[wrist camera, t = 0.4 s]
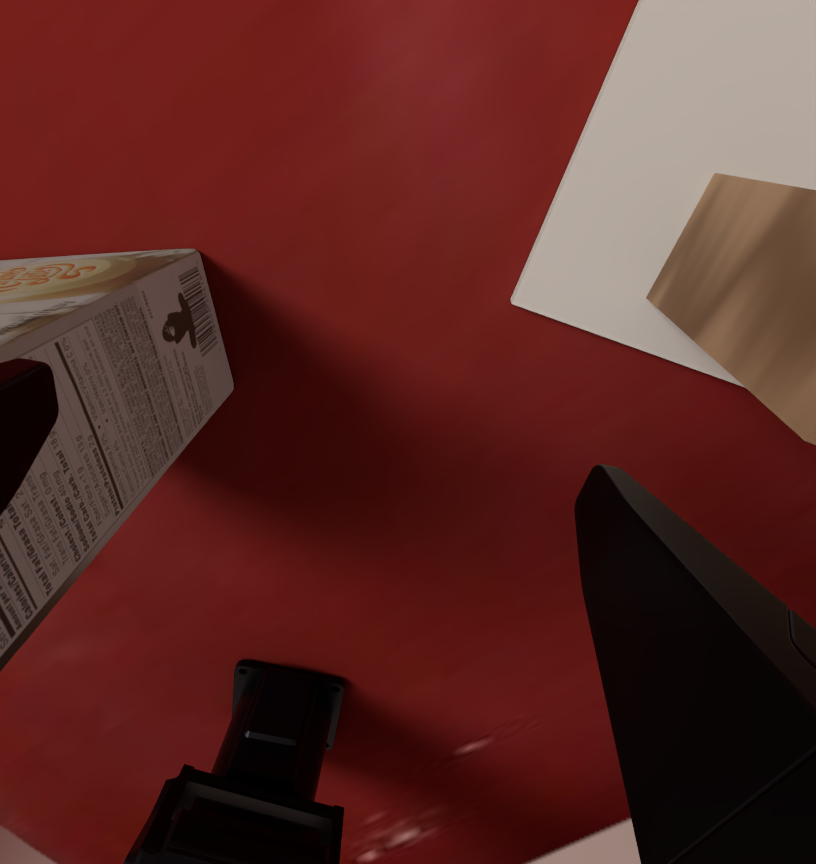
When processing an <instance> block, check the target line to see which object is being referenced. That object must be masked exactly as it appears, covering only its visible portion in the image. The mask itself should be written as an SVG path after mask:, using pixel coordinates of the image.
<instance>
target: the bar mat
mask: <svg viewBox="0 0 816 864" xmlns="http://www.w3.org/2000/svg"><path fill="white" fill-rule="evenodd" d="M714 173H719V174H725V175H731V176H737V177H742V178H748V179H754V180H760V181H766V182H771V183H777V184H783V185H789V186H795V187H800V188H806V189H812V190H816V0H639V1H638V4H637V6H636V8H635V11H634V13H633V15H632V18H631V20H630V22H629V25H628V27H627V29H626V32H625V34H624V36H623V39H622V41H621V43H620V46H619V48H618V50H617V53H616V55H615V57H614V60H613V62H612V64H611V67H610V69H609V71H608V74H607V76H606V78H605V80H604V83H603V85H602V87H601V90H600V92H599V94H598V97H597V99H596V101H595V104H594V106H593V108H592V111H591V113H590V115H589V118H588V120H587V122H586V125H585V127H584V129H583V132H582V134H581V136H580V139H579V141H578V143H577V146H576V148H575V150H574V153H573V155H572V157H571V160H570V162H569V164H568V167H567V169H566V171H565V174H564V176H563V178H562V181H561V183H560V185H559V188H558V190H557V192H556V195H555V197H554V199H553V202H552V204H551V206H550V209H549V211H548V213H547V216H546V218H545V220H544V223H543V225H542V227H541V230H540V232H539V234H538V237H537V239H536V241H535V244H534V246H533V248H532V251H531V253H530V255H529V258H528V260H527V262H526V264H525V267H524V269H523V271H522V274H521V276H520V278H519V281H518V283H517V285H516V288H515V290H514V292H513V295H512V297H511V299H510V300H511V303H512V304H513V305H516V306H519V307H522V308H525V309H527V310H530V311H533V312H536V313H538V314H541V315H544V316H547V317H550V318H552V319H555V320H558V321H561V322H564V323H566V324H569V325H572V326H575V327H578V328H580V329H583V330H586V331H589V332H592V333H594V334H597V335H600V336H603V337H606V338H608V339H611V340H614V341H617V342H619V343H622V344H625V345H628V346H631V347H633V348H636V349H639V350H642V351H645V352H647V353H650V354H653V355H656V356H659V357H661V358H664V359H667V360H670V361H673V362H675V363H678V364H681V365H684V366H687V367H689V368H692V369H695V370H698V371H701V372H703V373H706V374H709V375H712V376H714V377H717V378H720V379H723V380H726V381H728V382H731V383H734V384H737V385H740V386H742V387H744V386H743V385H742V384H741V383H740V382H739V381H738V380H736V379H735V378H734V377H733V376H732V375H731V374H730V373H729V372H728V371H726V370H725V369H724V368H723V367H722V366H721V365H720V364H719V363H718V362H716V361H715V360H714V359H713V358H712V357H711V356H710V355H709V354H708V353H706V352H705V351H704V350H703V349H702V348H701V347H700V346H699V345H698V344H696V343H695V342H694V341H693V340H692V339H691V338H690V337H689V336H688V335H686V334H685V333H684V332H683V331H682V330H681V329H680V328H679V327H678V326H676V325H675V324H674V323H673V322H672V321H671V320H670V319H669V318H668V317H666V316H665V315H664V314H663V313H662V312H661V311H660V310H659V309H658V308H656V307H655V306H654V305H653V304H652V303H651V302H650V301H649V300H648V299H646V297H647V295H648V293H649V291H650V289H651V288H652V286H653V284H654V282H655V280H656V279H657V277H658V275H659V273H660V271H661V269H662V268H663V266H664V264H665V262H666V260H667V259H668V257H669V255H670V253H671V251H672V249H673V248H674V246H675V244H676V242H677V240H678V238H679V237H680V235H681V233H682V231H683V229H684V228H685V226H686V224H687V222H688V220H689V218H690V217H691V215H692V213H693V211H694V209H695V208H696V206H697V204H698V202H699V200H700V198H701V197H702V195H703V193H704V191H705V189H706V188H707V186H708V184H709V182H710V180H711V178H712V177H713V175H714Z"/></svg>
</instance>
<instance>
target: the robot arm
mask: <svg viewBox="0 0 816 864" xmlns="http://www.w3.org/2000/svg"><path fill="white" fill-rule="evenodd" d="M58 414H59V404H58V399H57V393H56V387H55V381H54V375H53V371H52V369H51V367H50V366H49V365H48V364H47V363H45V362H41V361H35V360H30V359H24V358H17V359H13V360H9V361H5V362H1V363H0V516H1V514H2V513H3V512H4V510H5V509H6V507H7V506H8V505H9V503H10V502H11V500H12V499H13V497H14V496H15V494H16V492H17V491H18V489H19V487H20V486H21V484H22V482H23V480H24V479H25V477H26V475H27V473H28V471H29V470H30V468H31V466H32V464H33V462H34V461H35V459H36V457H37V455H38V454H39V452H40V450H41V448H42V446H43V445H44V443H45V441H46V439H47V437H48V436H49V434H50V432H51V430H52V428H53V427H54V425H55V423H56V421H57V418H58ZM575 522H576V533H577V543H578V554H579V564H580V575H581V583H582V590H583V595H584V600H585V605H586V610H587V614H588V619H589V624H590V628H591V633H592V637H593V642H594V647H595V651H596V656H597V661H598V665H599V670H600V675H601V679H602V684H603V689H604V693H605V698H606V703H607V707H608V712H609V716H610V721H611V726H612V730H613V735H614V740H615V744H616V749H617V754H618V758H619V763H620V768H621V772H622V777H623V781H624V786H625V791H626V795H627V800H628V805H629V809H630V814H631V819H632V823H633V828H634V833H635V837H636V842H637V846H638V851H639V856H640V860H641V864H816V629H815V628H813V627H812V626H811V625H810V624H809V623H807V622H806V621H805V620H804V619H803V618H801V617H800V616H799V615H798V614H797V613H795V612H794V611H793V610H788V607H787V605H786V604H784V603H783V602H782V601H781V600H779V599H778V598H777V597H776V596H775V595H773V594H772V593H771V592H770V591H769V590H767V589H766V588H765V587H764V586H762V585H761V584H760V583H759V582H758V581H756V580H755V579H754V578H753V577H752V576H750V575H749V574H748V573H747V572H746V571H744V570H743V569H742V568H741V567H739V566H738V565H737V564H736V563H735V562H733V561H732V560H731V559H730V558H729V557H727V556H726V555H725V554H724V553H723V552H721V551H720V550H719V549H718V548H716V547H715V546H714V545H713V544H712V543H710V542H709V541H708V540H707V539H706V538H704V537H703V536H702V535H701V534H700V533H698V532H697V531H696V530H695V529H694V528H692V527H691V526H690V525H689V524H687V523H686V522H685V521H684V520H683V519H681V518H680V517H679V516H678V515H677V514H675V513H674V512H673V511H672V510H671V509H669V508H668V507H667V506H666V505H664V504H663V503H662V502H661V501H660V500H658V499H657V498H656V497H655V496H654V495H652V494H651V493H650V492H649V491H648V490H646V489H645V488H644V487H643V486H641V485H640V484H639V483H638V482H637V481H635V480H634V479H633V478H632V477H631V476H629V475H628V474H627V473H626V472H625V471H623V470H622V469H621V468H618V467H613V466H608V465H602V464H598V465H596V466H594V467H593V468H592V470H591V472H590V474H589V475H588V477H587V479H586V481H585V483H584V485H583V487H582V489H581V491H580V493H579V495H578V497H577V499H576V503H575ZM344 689H345V682H344V681H343V680H342V679H340V678H336V677H330V676H325V675H320V674H315V673H309V672H304V671H299V670H294V669H288V668H283V667H278V666H273V665H267V664H262V663H257V662H252V661H246V660H241V661H239V662H238V663H237V665H236V667H235V670H234V689H233V708H232V720H231V722H230V725H229V727H228V730H227V733H226V735H225V738H224V741H223V743H222V746H221V748H220V751H219V754H218V756H217V759H216V761H215V764H214V767H213V769H212V772H211V773H208V772H204V771H200V770H197V769H194V767H193V766H190V765H186V764H184V766H183V768H182V770H181V772H180V774H179V776H177V778H173V779H169V780H166V782H165V784H164V786H163V789H162V791H161V793H160V795H159V798H158V800H157V802H156V804H155V806H154V809H153V811H152V813H151V815H150V817H149V818H148V820H147V822H146V824H145V825H144V827H143V829H142V831H141V832H140V834H139V836H138V838H137V839H136V841H135V843H134V845H133V846H132V848H131V850H130V852H129V853H128V855H127V857H126V859H125V862H124V864H339V861H340V850H341V838H342V827H343V816H344V807H340V806H337V805H334V806H329V805H325V804H322V803H318V802H314V800H315V795H316V791H317V786H318V781H319V777H320V772H321V767H322V762H323V758H324V753H325V750H330V749H332V747H333V744H334V739H335V734H336V729H337V724H338V719H339V714H340V709H341V704H342V699H343V694H344Z"/></svg>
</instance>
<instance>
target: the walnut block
mask: <svg viewBox="0 0 816 864" xmlns="http://www.w3.org/2000/svg"><path fill="white" fill-rule="evenodd" d="M646 299H648V300H649V301H650V302H651V303H652V304H653V305H654V306H655V307H656V308H658V309H659V310H660V311H661V312H662V313H663V314H664V315H665V316H666V317H668V318H669V319H670V320H671V321H672V322H673V323H674V324H675V325H676V326H678V327H679V328H680V329H681V330H682V331H683V332H684V333H685V334H686V335H688V336H689V337H690V338H691V339H692V340H693V341H694V342H695V343H696V344H698V345H699V346H700V347H701V348H702V349H703V350H704V351H705V352H706V353H708V354H709V355H710V356H711V357H712V358H713V359H714V360H715V361H716V362H718V363H719V364H720V365H721V366H722V367H723V368H724V369H725V370H726V371H728V372H729V373H730V374H731V375H732V376H733V377H734V378H735V379H736V380H738V381H739V382H740V383H741V384H742V385H743V386H744V387H745V388H746V389H748V390H749V391H750V392H751V393H752V394H753V395H754V396H755V397H756V398H758V399H759V400H760V401H761V402H762V403H763V404H764V405H765V406H766V407H768V408H769V409H770V410H771V411H772V412H773V413H774V414H775V415H776V416H778V417H779V418H780V419H781V420H782V421H783V422H784V423H785V424H787V425H788V426H789V427H790V428H791V429H792V430H793V431H794V432H795V433H797V434H798V435H799V436H800V437H801V438H802V439H803V440H804V441H806V442H809V443H812V444H815V445H816V190H812V189H806V188H800V187H795V186H789V185H783V184H777V183H771V182H766V181H760V180H754V179H748V178H742V177H737V176H731V175H725V174H719V173H714V175H713V177H712V178H711V180H710V182H709V184H708V186H707V188H706V189H705V191H704V193H703V195H702V197H701V198H700V200H699V202H698V204H697V206H696V208H695V209H694V211H693V213H692V215H691V217H690V218H689V220H688V222H687V224H686V226H685V228H684V229H683V231H682V233H681V235H680V237H679V238H678V240H677V242H676V244H675V246H674V248H673V249H672V251H671V253H670V255H669V257H668V259H667V260H666V262H665V264H664V266H663V268H662V269H661V271H660V273H659V275H658V277H657V279H656V280H655V282H654V284H653V286H652V288H651V289H650V291H649V293H648V295H647V297H646Z"/></svg>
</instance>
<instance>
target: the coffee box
mask: <svg viewBox="0 0 816 864" xmlns="http://www.w3.org/2000/svg"><path fill="white" fill-rule="evenodd" d="M17 358H24V359H30V360H35V361H41V362H45V363H47V364H48V365H49V366H50V367H51V369H52V371H53V375H54V381H55V387H56V393H57V399H58V404H59V414H58V418H57V421H56V423H55V425H54V427H53V428H52V430H51V432H50V434H49V436H48V437H47V439H46V441H45V443H44V445H43V446H42V448H41V450H40V452H39V454H38V455H37V457H36V459H35V461H34V462H33V464H32V466H31V468H30V470H29V471H28V473H27V475H26V477H25V479H24V480H23V482H22V484H21V486H20V487H19V489H18V491H17V492H16V494H15V496H14V497H13V499H12V500H11V502H10V503H9V505H8V506H7V507H6V509H5V510H4V512H3V513H2V514H1V516H0V671H1V670H2V669H3V668H4V666H5V665H6V664H7V663H8V661H9V660H10V659H11V658H12V656H13V655H14V654H15V653H16V652H17V651H18V649H19V648H20V647H21V646H22V645H23V644H24V643H25V642H26V640H27V639H28V638H29V637H30V635H31V634H32V633H33V632H34V630H35V629H36V628H37V627H38V626H39V624H40V623H41V622H42V621H43V620H44V618H45V617H46V616H47V615H48V613H49V612H50V611H51V610H52V608H53V607H54V606H55V605H56V604H57V602H58V601H59V600H60V599H61V598H62V596H63V595H64V594H65V593H66V592H67V590H68V589H69V588H70V587H71V586H72V584H73V583H74V582H75V581H76V580H77V578H78V577H79V576H80V575H81V574H82V572H83V571H84V570H85V569H86V568H87V566H88V565H89V564H90V563H91V562H92V560H93V559H94V558H95V557H96V555H97V554H98V553H99V552H100V551H101V549H102V548H103V547H104V546H105V545H106V543H107V542H108V541H109V540H110V538H111V537H112V536H113V535H114V534H115V532H116V531H117V530H118V529H119V528H120V526H121V525H122V524H123V523H124V522H125V520H126V519H127V518H128V517H129V516H130V514H131V513H132V512H133V511H134V510H135V508H136V507H137V506H138V505H139V503H140V502H141V501H142V500H143V499H144V497H145V496H146V495H147V494H148V493H149V491H150V490H151V489H152V488H153V487H154V485H155V484H156V483H157V482H158V480H159V479H160V478H161V477H162V475H163V474H164V473H165V472H166V470H167V469H168V468H169V467H170V466H171V465H172V463H173V462H174V461H175V460H176V459H177V457H178V456H179V455H180V454H181V452H182V451H183V450H184V449H185V448H186V446H187V445H188V444H189V443H190V442H191V440H192V439H193V438H194V437H195V436H196V434H197V433H198V432H199V431H200V430H201V428H202V427H203V426H204V425H205V423H207V422H208V420H209V419H210V418H211V416H212V415H213V414H214V413H215V412H216V410H217V409H218V408H219V407H220V406H221V405H222V403H223V402H224V401H225V400H226V399H227V397H228V396H229V395H230V394H231V392H232V391H233V390H234V383H233V379H232V374H231V371H230V367H229V363H228V359H227V356H226V352H225V348H224V344H223V340H222V336H221V333H220V329H219V325H218V321H217V317H216V313H215V309H214V305H213V301H212V298H211V294H210V290H209V286H208V282H207V279H206V275H205V271H204V267H203V263H202V259H201V256H200V253H199V252H198V250H195V249H169V250H153V251H137V252H121V253H105V254H90V255H75V256H60V257H46V258H31V259H17V260H3V261H0V363H1V362H5V361H9V360H13V359H17Z"/></svg>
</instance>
